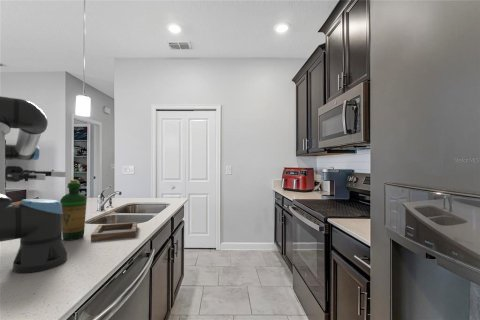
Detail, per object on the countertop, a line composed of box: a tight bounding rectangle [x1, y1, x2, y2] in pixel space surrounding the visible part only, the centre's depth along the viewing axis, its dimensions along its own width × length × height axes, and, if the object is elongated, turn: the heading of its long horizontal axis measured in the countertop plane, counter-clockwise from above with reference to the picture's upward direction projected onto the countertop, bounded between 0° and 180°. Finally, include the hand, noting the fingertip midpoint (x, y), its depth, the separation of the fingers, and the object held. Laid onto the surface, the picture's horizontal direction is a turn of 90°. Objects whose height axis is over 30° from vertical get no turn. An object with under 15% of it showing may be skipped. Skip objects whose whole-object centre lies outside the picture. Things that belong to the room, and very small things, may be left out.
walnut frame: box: [90, 221, 138, 242], centre depth 124 cm, size 19×19×3 cm
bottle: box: [59, 179, 88, 241], centre depth 117 cm, size 11×11×28 cm
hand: (55, 175), depth 116 cm, fingers open, 13 cm apart
